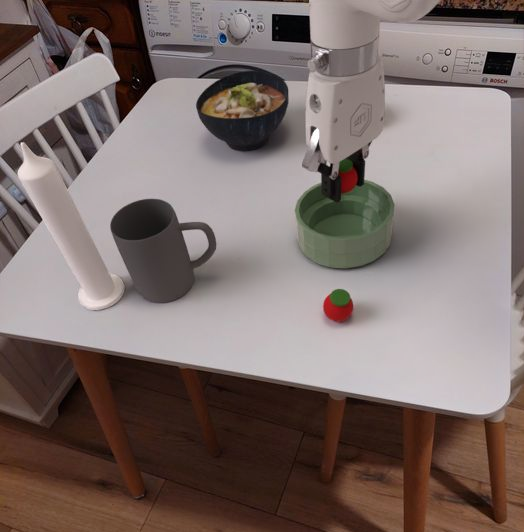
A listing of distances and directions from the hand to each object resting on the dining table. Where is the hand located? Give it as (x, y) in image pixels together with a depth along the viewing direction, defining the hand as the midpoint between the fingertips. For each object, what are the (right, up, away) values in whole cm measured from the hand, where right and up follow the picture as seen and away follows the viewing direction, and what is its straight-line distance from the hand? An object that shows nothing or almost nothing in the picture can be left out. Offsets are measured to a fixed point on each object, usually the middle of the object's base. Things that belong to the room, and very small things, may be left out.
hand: (342, 188), depth 72 cm
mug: (-24, -12, +6) cm, 27 cm away
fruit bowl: (+1, -5, +7) cm, 9 cm away
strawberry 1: (-1, -18, -2) cm, 18 cm away
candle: (-36, -14, +6) cm, 39 cm away
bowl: (-14, +18, +28) cm, 36 cm away
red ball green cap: (0, 0, 0) cm, 0 cm away
